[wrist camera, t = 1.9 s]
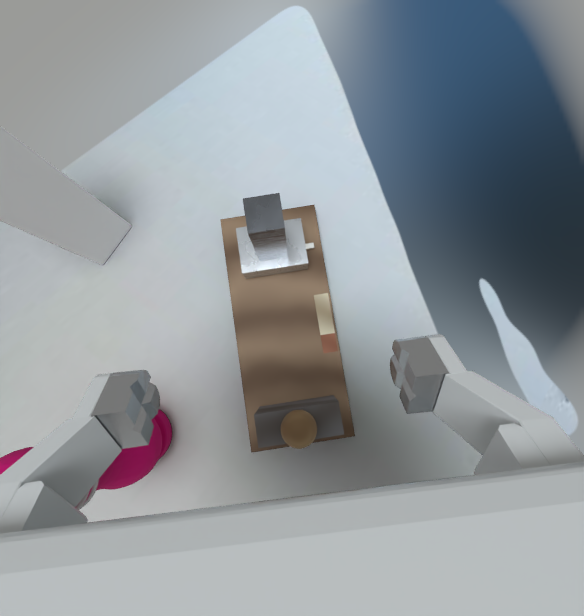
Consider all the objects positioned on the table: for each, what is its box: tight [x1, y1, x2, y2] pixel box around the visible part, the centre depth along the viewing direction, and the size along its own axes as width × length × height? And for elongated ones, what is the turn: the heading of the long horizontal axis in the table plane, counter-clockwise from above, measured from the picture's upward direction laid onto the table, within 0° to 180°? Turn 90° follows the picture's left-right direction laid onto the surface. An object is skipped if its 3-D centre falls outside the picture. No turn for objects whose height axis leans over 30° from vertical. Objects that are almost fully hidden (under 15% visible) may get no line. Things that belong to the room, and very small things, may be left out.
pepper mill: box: [0, 410, 172, 510], centre depth 26 cm, size 7×7×20 cm
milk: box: [0, 126, 132, 265], centre depth 28 cm, size 6×6×22 cm
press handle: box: [236, 193, 314, 279], centre depth 31 cm, size 5×8×10 cm, turn 99°
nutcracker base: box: [221, 205, 355, 452], centre depth 33 cm, size 26×11×9 cm, turn 9°
